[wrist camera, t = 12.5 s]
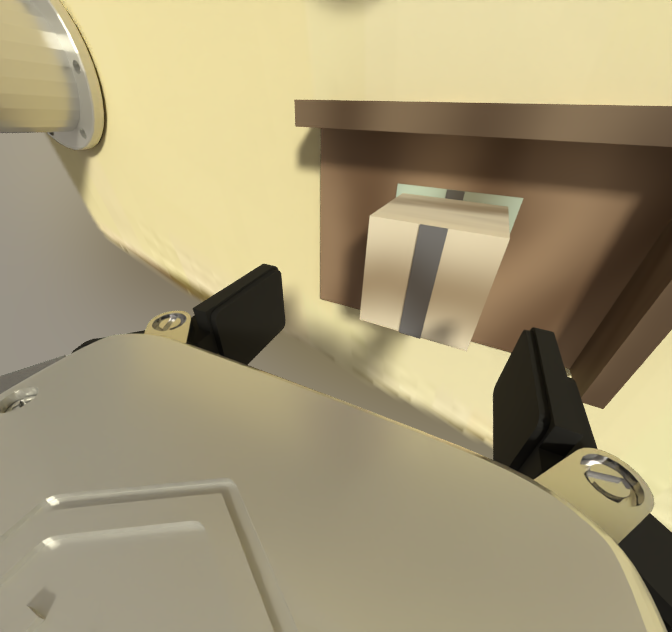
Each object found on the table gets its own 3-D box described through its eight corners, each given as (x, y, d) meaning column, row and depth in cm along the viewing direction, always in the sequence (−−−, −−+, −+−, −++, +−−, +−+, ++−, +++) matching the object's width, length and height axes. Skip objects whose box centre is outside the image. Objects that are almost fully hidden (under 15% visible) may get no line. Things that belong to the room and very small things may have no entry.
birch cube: (402, 193, 18) (369, 216, 14) (508, 206, 16) (509, 239, 12) (389, 278, 22) (358, 320, 17) (475, 298, 20) (466, 352, 15)
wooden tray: (323, 295, 26) (302, 315, 23) (325, 103, 18) (294, 99, 16) (589, 369, 19) (603, 409, 17) (776, 112, 11) (860, 109, 9)
